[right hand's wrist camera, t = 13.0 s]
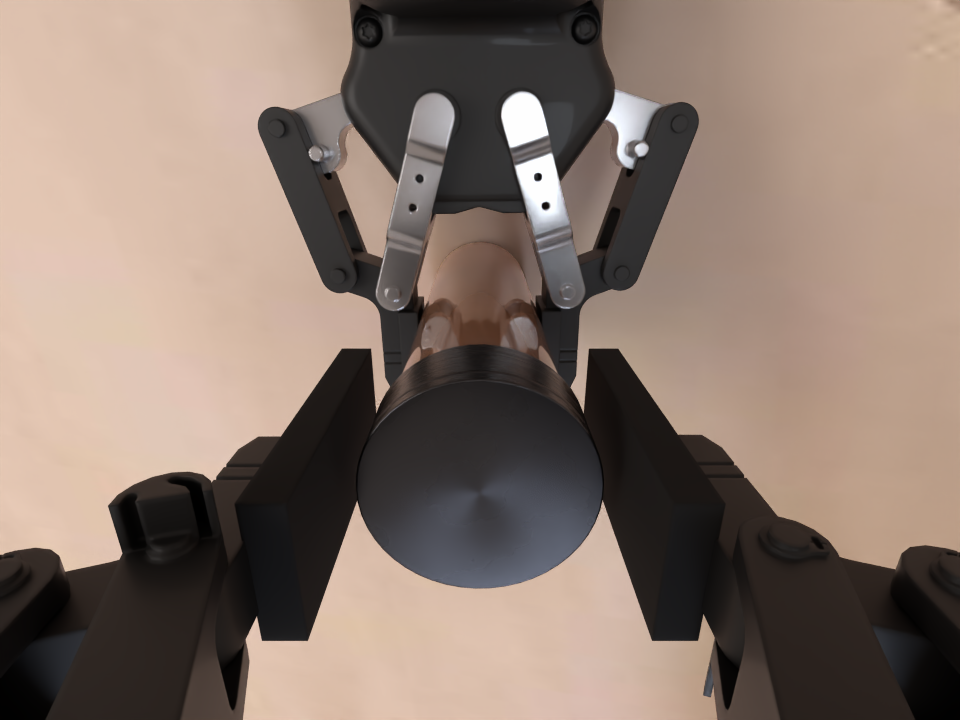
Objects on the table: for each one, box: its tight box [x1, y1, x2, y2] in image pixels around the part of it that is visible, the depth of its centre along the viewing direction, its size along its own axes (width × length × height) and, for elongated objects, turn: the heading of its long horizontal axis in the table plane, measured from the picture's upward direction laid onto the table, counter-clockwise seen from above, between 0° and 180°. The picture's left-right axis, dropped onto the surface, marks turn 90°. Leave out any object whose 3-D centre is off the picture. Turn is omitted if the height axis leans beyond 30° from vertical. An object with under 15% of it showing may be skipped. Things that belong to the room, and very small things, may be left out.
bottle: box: [402, 242, 559, 374], centre depth 18 cm, size 4×4×16 cm
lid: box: [356, 344, 604, 588], centre depth 11 cm, size 5×5×2 cm
